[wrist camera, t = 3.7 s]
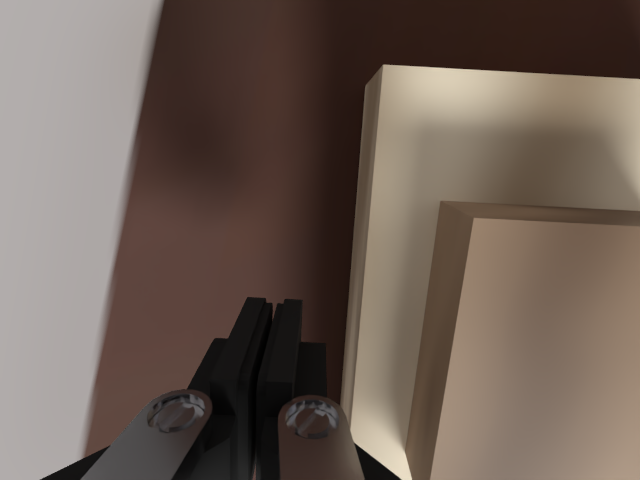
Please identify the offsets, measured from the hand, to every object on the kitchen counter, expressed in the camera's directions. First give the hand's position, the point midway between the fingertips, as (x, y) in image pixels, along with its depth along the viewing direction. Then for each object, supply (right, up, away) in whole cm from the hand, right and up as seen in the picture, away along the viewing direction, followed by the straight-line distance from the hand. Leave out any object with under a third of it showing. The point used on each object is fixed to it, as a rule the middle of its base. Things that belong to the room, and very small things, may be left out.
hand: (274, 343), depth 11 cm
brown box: (+8, 0, +1) cm, 8 cm away
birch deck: (+8, +1, +5) cm, 9 cm away
